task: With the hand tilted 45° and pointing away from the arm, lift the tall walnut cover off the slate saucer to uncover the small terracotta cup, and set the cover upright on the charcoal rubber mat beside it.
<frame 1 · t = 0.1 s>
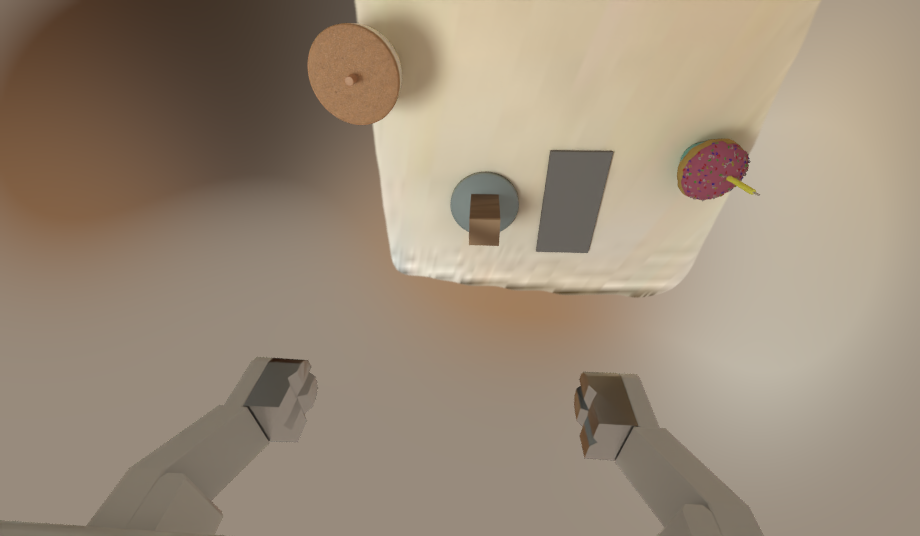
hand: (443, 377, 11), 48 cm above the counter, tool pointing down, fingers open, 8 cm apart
walnut cover: (484, 206, 60), point 1 cm above the counter, touching slate saucer
cupcake: (695, 158, 55), on the counter
rubber mat: (570, 205, 60), on the counter
lidded jar: (369, 66, 49), on the counter
slate saucer: (484, 203, 61), on the counter
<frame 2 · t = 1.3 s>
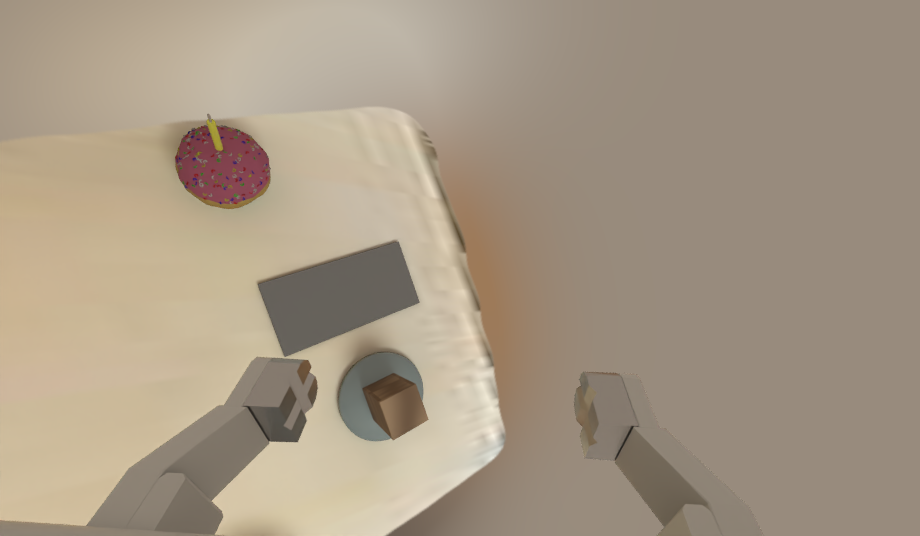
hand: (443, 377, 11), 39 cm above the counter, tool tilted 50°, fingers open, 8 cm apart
walnut cover: (383, 396, 48), point 1 cm above the counter, touching slate saucer
cupcake: (229, 180, 43), on the counter
rubber mat: (345, 294, 48), on the counter
slate saucer: (381, 394, 49), on the counter
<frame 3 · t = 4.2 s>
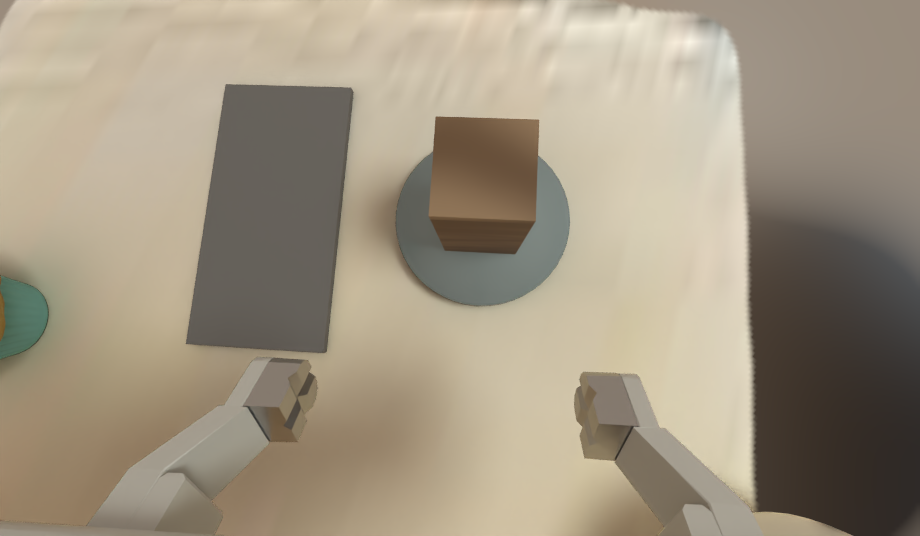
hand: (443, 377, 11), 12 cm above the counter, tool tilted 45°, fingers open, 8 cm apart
walnut cover: (481, 218, 23), point 1 cm above the counter, touching slate saucer
cupcake: (20, 316, 25), on the counter
rubber mat: (275, 213, 25), on the counter
slate saucer: (481, 222, 24), on the counter
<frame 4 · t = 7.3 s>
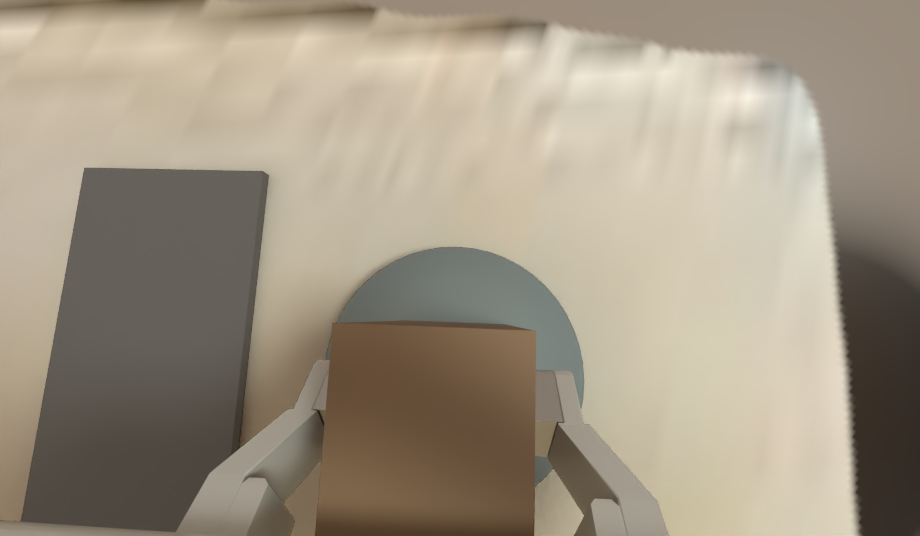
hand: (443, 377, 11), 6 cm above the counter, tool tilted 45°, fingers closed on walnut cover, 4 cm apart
walnut cover: (452, 374, 16), point 1 cm above the counter, touching gripper, slate saucer
rubber mat: (154, 358, 17), on the counter
slate saucer: (453, 371, 17), on the counter
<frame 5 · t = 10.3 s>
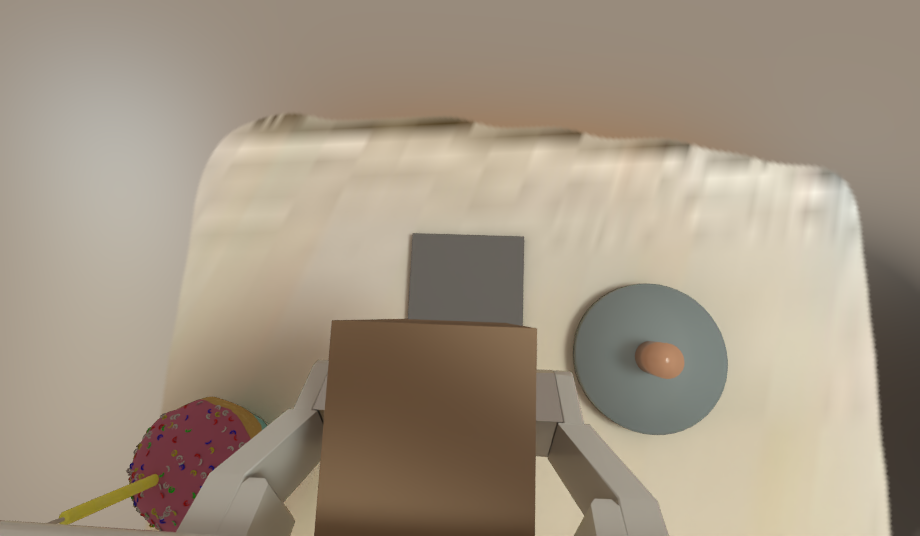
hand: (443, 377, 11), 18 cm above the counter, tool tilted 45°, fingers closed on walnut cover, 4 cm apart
walnut cover: (452, 373, 16), point 14 cm above the counter, touching gripper
cupcake: (245, 441, 29), on the counter
rubber mat: (464, 347, 29), on the counter
slate saucer: (645, 355, 28), on the counter
when the fingers open (6 cm above the counter, at t = 13.3 s): walnut cover drops 1 cm, resting on rubber mat.
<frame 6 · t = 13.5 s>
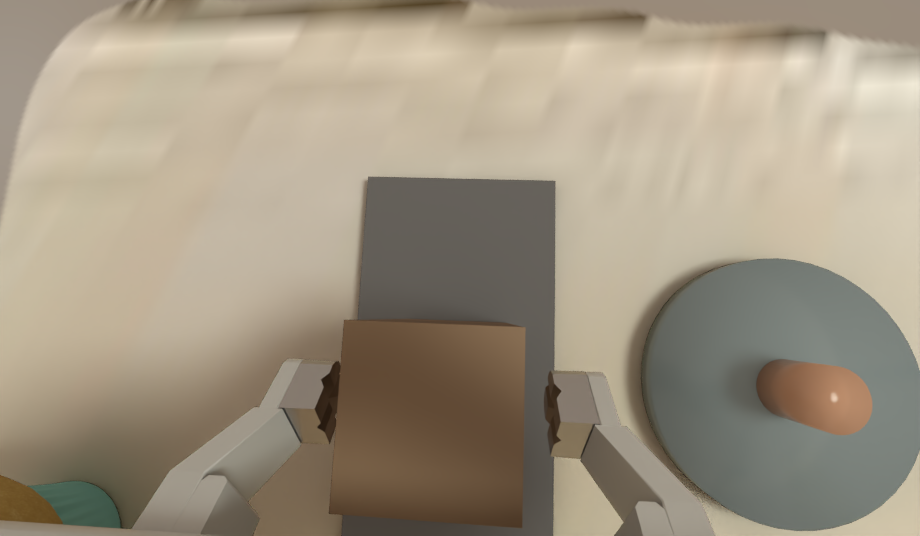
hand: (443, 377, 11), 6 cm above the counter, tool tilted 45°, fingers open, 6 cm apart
walnut cover: (454, 370, 17), point 1 cm above the counter, touching rubber mat
cupcake: (78, 529, 17), on the counter
rubber mat: (453, 369, 17), on the counter
slate saucer: (767, 384, 16), on the counter
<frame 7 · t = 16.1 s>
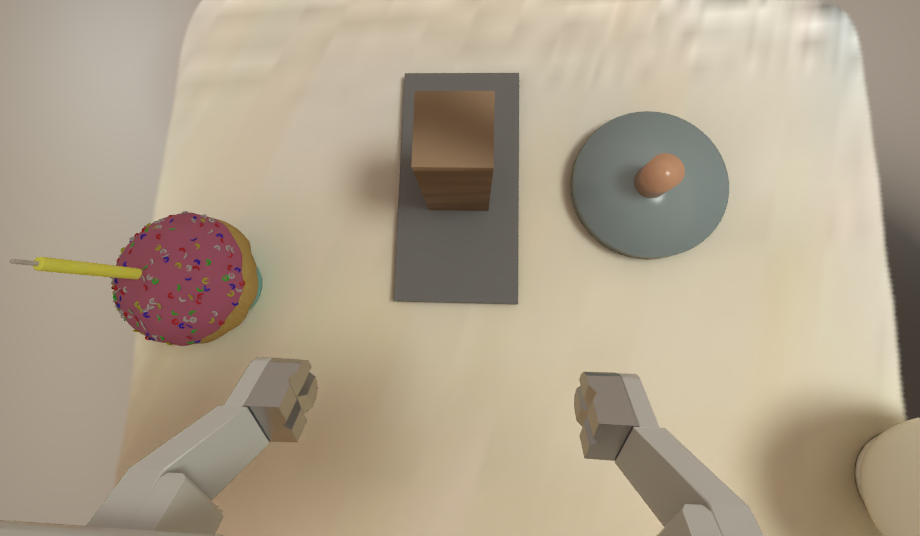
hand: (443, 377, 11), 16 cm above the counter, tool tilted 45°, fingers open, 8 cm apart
walnut cover: (459, 182, 28), resting on rubber mat
cupcake: (234, 284, 28), on the counter
rubber mat: (458, 185, 28), on the counter
lidded jar: (899, 478, 25), on the counter
slate saucer: (644, 187, 28), on the counter
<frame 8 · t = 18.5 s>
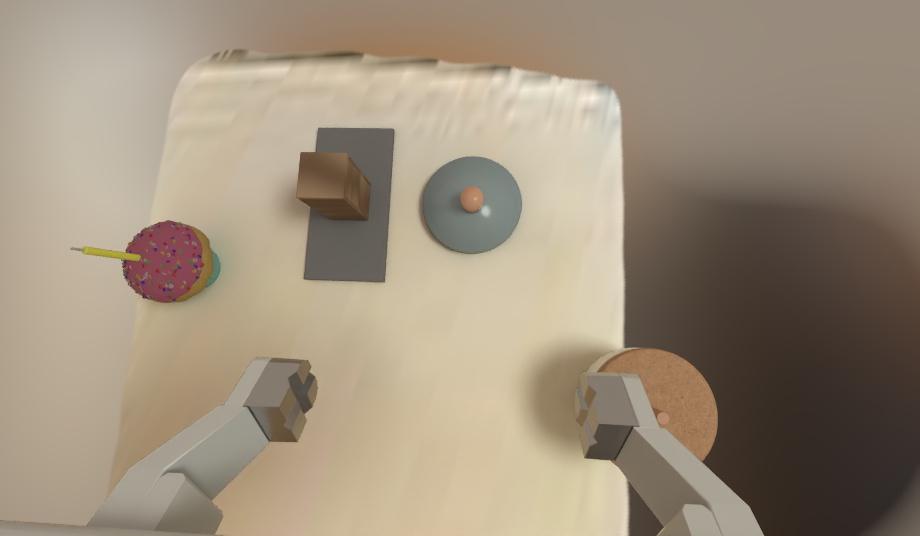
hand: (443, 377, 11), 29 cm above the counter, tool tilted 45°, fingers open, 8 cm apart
walnut cover: (350, 201, 42), resting on rubber mat
cupcake: (202, 267, 43), on the counter
rubber mat: (351, 203, 43), on the counter
lidded jar: (617, 394, 39), on the counter
slate saucer: (472, 206, 42), on the counter
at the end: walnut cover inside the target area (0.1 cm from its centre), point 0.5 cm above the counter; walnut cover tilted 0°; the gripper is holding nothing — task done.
